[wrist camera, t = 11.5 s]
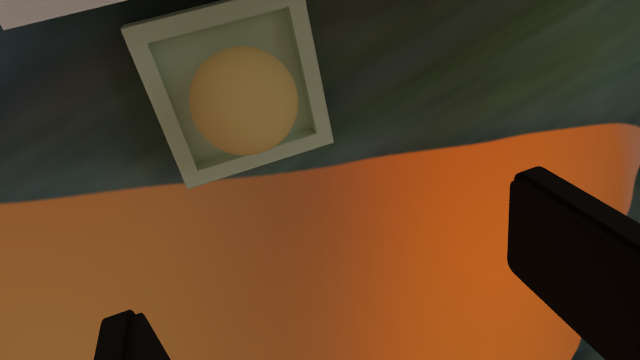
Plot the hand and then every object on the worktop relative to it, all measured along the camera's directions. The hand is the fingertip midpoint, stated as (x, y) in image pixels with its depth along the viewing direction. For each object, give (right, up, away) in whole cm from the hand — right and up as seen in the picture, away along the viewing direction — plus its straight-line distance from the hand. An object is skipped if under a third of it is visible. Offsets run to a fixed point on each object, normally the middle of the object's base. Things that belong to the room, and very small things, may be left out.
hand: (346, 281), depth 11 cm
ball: (-5, +7, +14) cm, 16 cm away
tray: (-6, +8, +17) cm, 20 cm away
